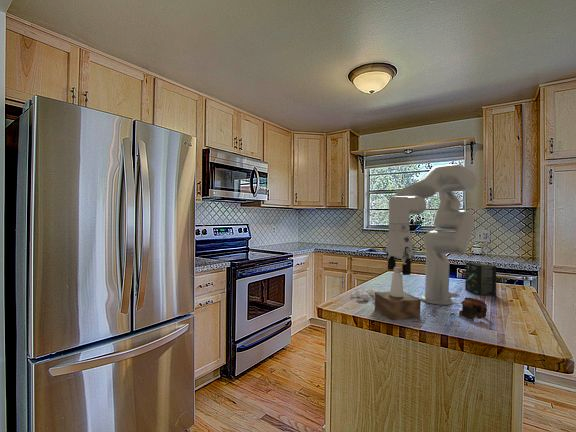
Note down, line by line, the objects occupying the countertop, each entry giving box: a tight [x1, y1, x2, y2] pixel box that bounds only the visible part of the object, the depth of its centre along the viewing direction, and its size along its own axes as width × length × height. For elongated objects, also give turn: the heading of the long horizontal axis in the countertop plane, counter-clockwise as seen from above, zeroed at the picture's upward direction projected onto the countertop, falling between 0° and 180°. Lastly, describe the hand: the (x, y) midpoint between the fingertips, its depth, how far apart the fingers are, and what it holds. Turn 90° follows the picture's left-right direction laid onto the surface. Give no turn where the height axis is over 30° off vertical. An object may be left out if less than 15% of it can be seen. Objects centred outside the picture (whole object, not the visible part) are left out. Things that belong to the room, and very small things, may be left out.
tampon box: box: [464, 261, 497, 296], centre depth 155 cm, size 11×9×15 cm
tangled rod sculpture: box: [351, 288, 381, 302], centre depth 144 cm, size 19×14×4 cm
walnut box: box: [374, 291, 422, 321], centre depth 119 cm, size 12×12×7 cm
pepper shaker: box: [389, 266, 405, 297], centre depth 119 cm, size 5×5×11 cm
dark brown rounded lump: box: [458, 297, 488, 321], centre depth 116 cm, size 12×10×8 cm
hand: (398, 272), depth 120 cm, fingers open, 9 cm apart
